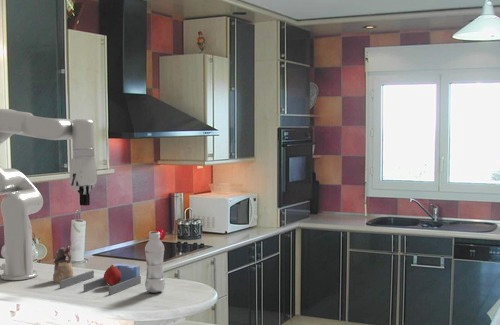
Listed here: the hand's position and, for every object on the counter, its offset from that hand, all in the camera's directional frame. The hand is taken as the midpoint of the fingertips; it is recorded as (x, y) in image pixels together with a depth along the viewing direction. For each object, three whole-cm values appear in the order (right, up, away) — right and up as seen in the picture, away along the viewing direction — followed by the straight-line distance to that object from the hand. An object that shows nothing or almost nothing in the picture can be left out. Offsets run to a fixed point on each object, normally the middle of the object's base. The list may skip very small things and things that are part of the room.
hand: (84, 205), depth 217 cm
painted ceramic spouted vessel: (-8, -27, +1) cm, 28 cm away
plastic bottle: (+28, -28, -15) cm, 42 cm away
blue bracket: (+15, -27, -2) cm, 31 cm away
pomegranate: (+12, -28, -9) cm, 31 cm away
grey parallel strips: (+7, -28, -7) cm, 29 cm away
